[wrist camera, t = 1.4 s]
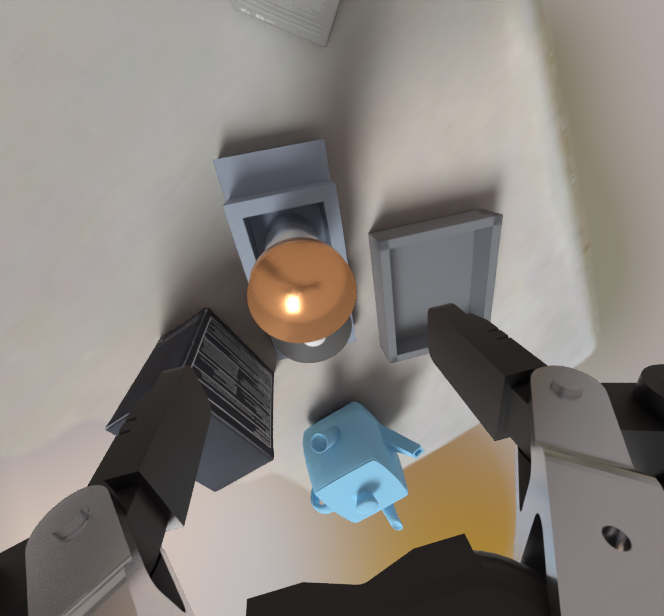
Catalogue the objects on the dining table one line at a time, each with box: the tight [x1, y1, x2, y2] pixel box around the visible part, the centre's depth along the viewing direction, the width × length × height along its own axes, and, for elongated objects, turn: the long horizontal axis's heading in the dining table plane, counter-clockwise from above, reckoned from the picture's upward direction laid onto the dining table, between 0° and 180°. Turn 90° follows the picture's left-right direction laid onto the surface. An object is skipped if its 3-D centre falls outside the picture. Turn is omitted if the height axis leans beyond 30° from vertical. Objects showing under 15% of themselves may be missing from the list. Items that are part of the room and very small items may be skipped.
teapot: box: [303, 401, 424, 530], centre depth 34 cm, size 18×14×10 cm
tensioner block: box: [213, 139, 356, 363], centre depth 24 cm, size 18×8×5 cm, turn 10°
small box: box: [105, 309, 274, 492], centre depth 25 cm, size 11×6×10 cm, turn 32°
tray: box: [368, 209, 503, 363], centre depth 29 cm, size 13×11×3 cm
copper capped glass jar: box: [247, 214, 357, 343], centre depth 19 cm, size 5×5×11 cm
